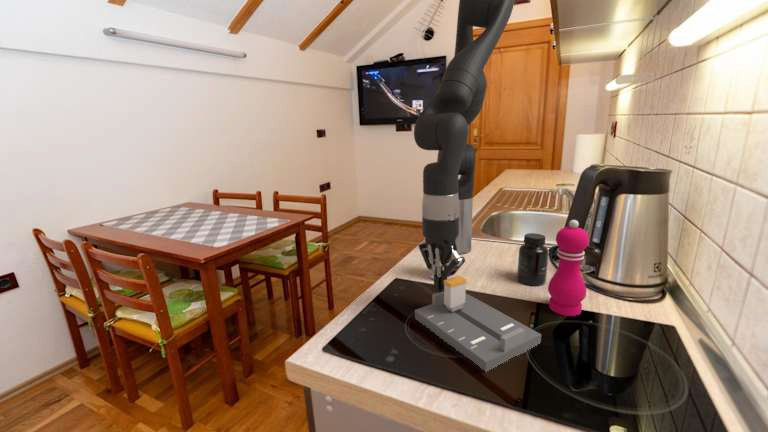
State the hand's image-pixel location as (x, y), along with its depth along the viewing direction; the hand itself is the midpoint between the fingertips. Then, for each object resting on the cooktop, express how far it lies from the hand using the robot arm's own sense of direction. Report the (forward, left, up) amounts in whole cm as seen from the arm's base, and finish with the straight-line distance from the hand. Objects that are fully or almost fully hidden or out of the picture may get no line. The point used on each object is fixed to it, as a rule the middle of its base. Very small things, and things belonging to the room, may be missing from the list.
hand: (440, 290), depth 77 cm
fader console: (+10, 0, -4) cm, 11 cm away
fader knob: (+5, 0, -2) cm, 5 cm away
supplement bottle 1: (-13, +11, -5) cm, 17 cm away
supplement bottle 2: (+2, +28, -5) cm, 28 cm away
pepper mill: (+15, +22, -5) cm, 27 cm away
